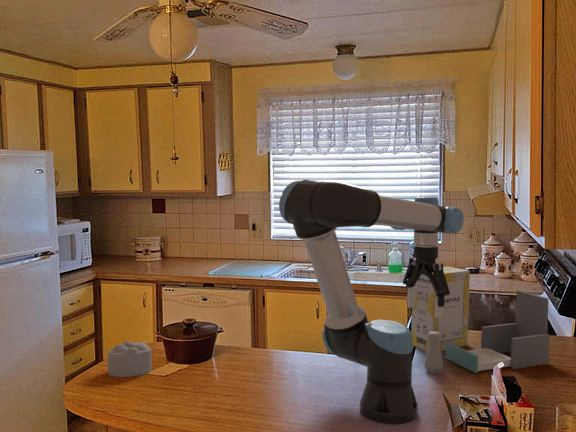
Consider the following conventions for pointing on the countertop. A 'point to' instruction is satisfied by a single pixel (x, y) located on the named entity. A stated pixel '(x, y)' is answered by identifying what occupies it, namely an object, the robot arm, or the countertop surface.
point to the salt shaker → (433, 354)
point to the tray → (475, 358)
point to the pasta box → (454, 310)
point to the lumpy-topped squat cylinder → (129, 359)
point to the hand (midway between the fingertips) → (424, 311)
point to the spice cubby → (522, 333)
